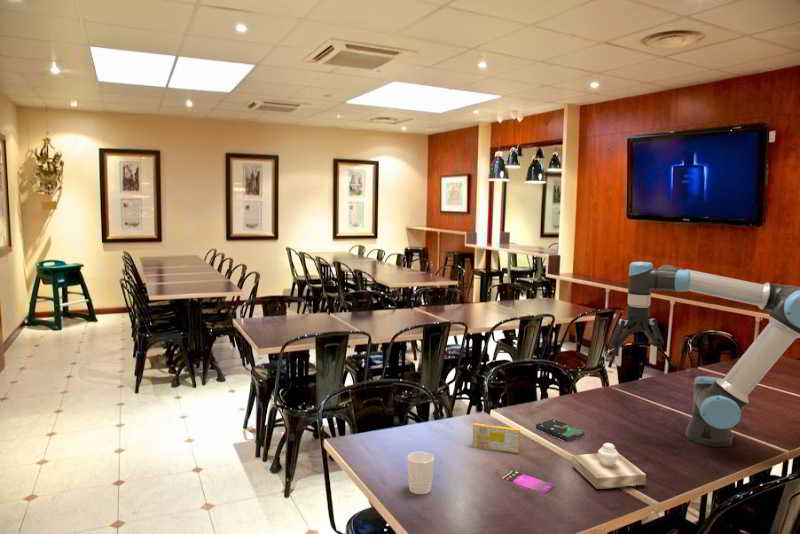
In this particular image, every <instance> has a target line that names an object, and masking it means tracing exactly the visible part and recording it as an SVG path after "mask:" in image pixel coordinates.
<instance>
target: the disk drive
mask: <svg viewBox="0 0 800 534" xmlns="http://www.w3.org/2000/svg"><path fill="white" fill-rule="evenodd" d="M536 429H538V430H540V431H543V432H545V433H547V434H550V435H552V436H555V437H557V438H560V439H562V440H564V441H566V442H565V443H567V442H568V441H571V440H574V439H576V438H579V439H581V438H580V437H582V438H584V437H585V433H586V432H585V431H584V430H582V429H580V428H578V427H575V426H572V425H570V424H567V423H565V422H562V421H560V420H557V419H554V418H552V419H548V420H545V421H543V422H541V423H540V422H539V423H536V424H535V430H536ZM540 431H539V432H540ZM545 433H544V434H545ZM547 434H546V435H547ZM550 435H549V436H550ZM552 436H551V437H552ZM583 436H584V437H583ZM557 438H556V439H557ZM562 440H561V441H562ZM576 440H577V439H576ZM564 441H563V442H564ZM574 441H575V440H574ZM571 442H572V441H571ZM568 443H569V442H568Z"/></svg>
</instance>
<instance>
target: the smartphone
mask: <svg viewBox="0 0 800 534" xmlns="http://www.w3.org/2000/svg"><path fill="white" fill-rule="evenodd" d="M501 479H503V480H505V481H508V482H510V483H512V484H516V485H518V486H521V487H524V488H526V487H527V488H526V489H529V488H530V489H529V490H532V491H534V490H536V491H535V492H537V491H538V492H537V493H539V494H540V493H541V494H543V495H545V494H547V493H549V491H552V489H553V488H555V487H556V484H553V483H550V482H547V481H544V480H542V479H539V478H536V477H533V476H530V475H526V474H525V473H521V472H518V471H515V470H510V471H509V472H507V473H505V474H504V475H502V476H501Z"/></svg>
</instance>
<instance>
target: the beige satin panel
mask: <svg viewBox="0 0 800 534" xmlns="http://www.w3.org/2000/svg"><path fill="white" fill-rule="evenodd" d="M618 454H619V457H618V459H617V461H616V462H615V464H614V465H613V466H611V467H608V466H605V465H603V464H602V462H601V460H600V457H599V454H598V453H585V454H572V455H571V466H573V468H574V469H576V471H577V472H578V473H580V474H581V475H582V476H583V477H584V478H585V479H586V480H587V481H589V483H590V484H592V485H593V487H594V488H595V489H597V490H603V489H615V488H617V489H618V488H627V487H626V486H631V487H640V486H645V485H646V482H647V481H646V479H647V474H646V473H644V472H643V471H642V470H641V469H640V468H638V466H636V465H635V464H634V463H632V462H630V461H629V460H628V459H627V458H625V456H623V455H621V454H620V453H619V452H618ZM636 485H638V486H636ZM639 485H640V486H639Z"/></svg>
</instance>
